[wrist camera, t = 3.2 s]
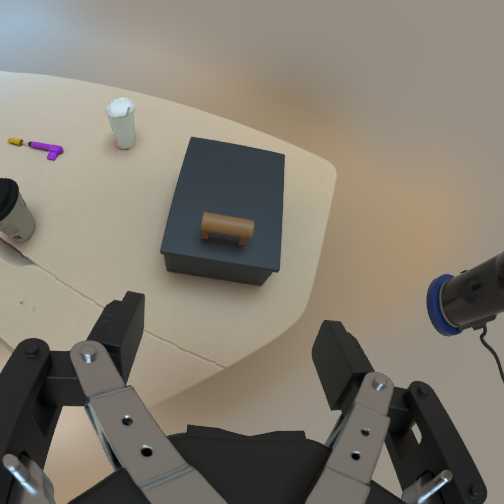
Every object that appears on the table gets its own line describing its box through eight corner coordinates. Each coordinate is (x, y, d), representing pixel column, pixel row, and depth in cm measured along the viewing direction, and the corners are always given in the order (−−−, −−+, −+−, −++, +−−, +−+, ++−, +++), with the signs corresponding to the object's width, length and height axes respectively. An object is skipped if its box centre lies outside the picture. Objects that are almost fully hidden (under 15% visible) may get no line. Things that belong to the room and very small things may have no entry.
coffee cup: (28, 256, 34) (-5, 225, 25) (1, 241, 34) (-31, 210, 25) (48, 216, 37) (23, 178, 28) (21, 204, 37) (-5, 168, 28)
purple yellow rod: (64, 148, 42) (11, 138, 40) (62, 145, 40) (8, 136, 39) (58, 161, 41) (5, 150, 40) (55, 158, 40) (2, 148, 39)
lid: (277, 272, 33) (292, 256, 28) (160, 253, 31) (156, 233, 26) (283, 158, 39) (294, 133, 35) (190, 140, 37) (192, 113, 33)
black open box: (261, 285, 40) (278, 266, 33) (166, 270, 38) (162, 247, 31) (268, 189, 46) (283, 158, 39) (188, 175, 45) (190, 140, 37)
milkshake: (124, 159, 43) (115, 114, 34) (108, 142, 44) (99, 99, 35) (146, 145, 45) (142, 100, 36) (130, 129, 46) (124, 86, 37)
